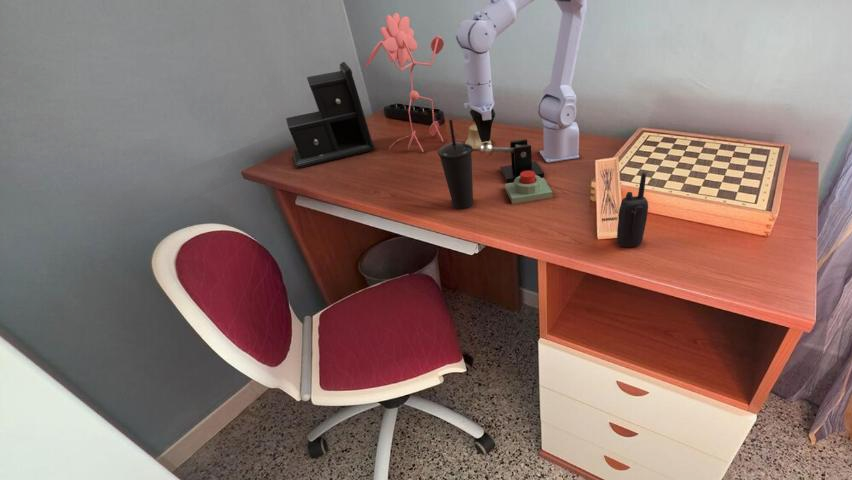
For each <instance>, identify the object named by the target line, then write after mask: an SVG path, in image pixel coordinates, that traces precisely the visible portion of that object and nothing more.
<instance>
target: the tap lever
mask: <svg viewBox="0 0 852 480" xmlns="http://www.w3.org/2000/svg"><path fill="white" fill-rule="evenodd" d="M517 146H524V144H515V147H517ZM478 151H479V154H480V155H481V156H482V157H484V158H488V157H491V156H492V155H493V153H501V154H503V153H504V154H507V153H508V154H511V153H514V149H513V148H510V147H509V146H508V147H507V146H503V147H501V146H499V147H498V146H493V145H492V143H491V144H490V143H489V142H483V143H482V144H481V145H480V147H479V149H478Z"/></svg>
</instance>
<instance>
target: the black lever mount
mask: <svg viewBox="0 0 852 480" xmlns="http://www.w3.org/2000/svg"><path fill="white" fill-rule="evenodd" d="M515 144H524V146H517V147H515ZM509 146H510V147H509V148H513V149H514V153H510V161H511V164H510V165H503V166H500V168H499V169H500V172H501V174H502V176H503V178H504V180H505V184H508V183H514V180H515V179H516V177H519V176H520V173H521V172H523V171H533V172H535V175H537V176H539V177H540V178H544V179H545V172H544V171H543V170H542V168H541V166H540V164H539V163H538V161H533V160H532V159H533V157H532V145H531V144H528V139H527V138H524V139H517V140H510V141H509Z"/></svg>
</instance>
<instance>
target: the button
mask: <svg viewBox="0 0 852 480" xmlns="http://www.w3.org/2000/svg"><path fill="white" fill-rule="evenodd" d="M520 182H521V183H522V184H533V183H535V172H533V171H523V172H521V173H520Z"/></svg>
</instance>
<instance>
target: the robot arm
mask: <svg viewBox="0 0 852 480" xmlns="http://www.w3.org/2000/svg"><path fill="white" fill-rule="evenodd" d="M489 1H490V3H489V4H488V5H486V6H485V7H484V8H482V9H481V10H480V11H478V10H477V11H475V12H474V13H473V18H471V19H468V18H466V19H464V20H463V21H461V22H460V24H459V25H458V26H459V27H458V28H457V33H456V35H455V40H456V42H457V45H458V46H459V47H460V49H461V50H462V58H463V65H464V73H465V80H466V89H467V98H468V102H464V103H463V106H464V109H470V110H469V114H470V117H471V118H472V120H473V119H474V121H475V123H476V126H477V130H478V134H479V137H480V139H481V142H487V141H491V137H492V136H491V135H492V126H493V122H494V119H495V118H496V112H495V110H494V107H495V100H494V92H493V82H492V81H493V79H492V71H491V69H492V68H491V59H490V50H491V48H492V47H493V44H494V40H495V39H497V37H498V36H500V35H501V34H502V33H503V32H505V31H506V30H507V29H508V28H510V26H512V25H513V24H515V22H516V19H517V13H519V12H520V11H521V10H522V9H524V8H525V7H527V6H528V5H529V4H531V3H532V2H534V1H535V0H489ZM554 1H555V2H556V4H557V5H558V7H559V9H560V11H561V18H560V24H559V30H558V35H557V41H556V47H555V52H554V53H555V54H554V57H553V58H554V59H553V65H552V71H551V76H550V83H549V84H548V85H547V86H546V87H545V88H544V89H543V90H542V95H541V97H540V100H539V101H538V104H537V115H538V117H540V118H541V123H542V125H543V128H542V129H543V131H542V132H543V133H542V134H543V135H542V136H543V149H541V150H539V154H540V156H541V157H542V158H543V160H544V161H545V162H546V163H547V164H550V163H556V162H562V161H569V160H576V159H579V158H580V154H579V151H580V149H579V148H580V129H579V125H578V123H577V122H576V121H575V119H576V116H577V100H578V99H577V95H576V93H575V91H574V89H573V88H572V86H573V84H572V83H573V79H574V75H575V69H576V64H577V59H578V53H579V49H580V44H581V39H582V34H583V28H584V23H585V18H586V13H587V7H588V0H554ZM471 109H473V110H471Z"/></svg>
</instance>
